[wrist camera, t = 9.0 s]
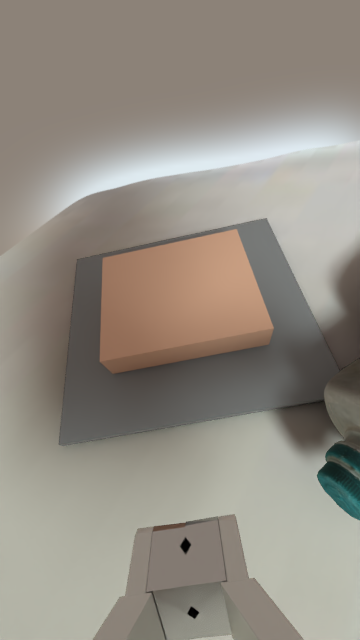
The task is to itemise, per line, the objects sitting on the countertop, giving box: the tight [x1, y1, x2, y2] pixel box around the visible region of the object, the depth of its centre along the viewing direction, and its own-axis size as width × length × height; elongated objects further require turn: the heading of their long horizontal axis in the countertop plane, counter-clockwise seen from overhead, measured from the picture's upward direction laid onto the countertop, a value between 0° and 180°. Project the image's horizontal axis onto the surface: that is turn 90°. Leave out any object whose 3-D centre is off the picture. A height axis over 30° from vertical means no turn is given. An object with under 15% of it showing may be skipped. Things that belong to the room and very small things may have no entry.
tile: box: [100, 229, 274, 374], centre depth 22 cm, size 12×3×10 cm
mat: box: [59, 218, 340, 446], centre depth 23 cm, size 20×18×1 cm
